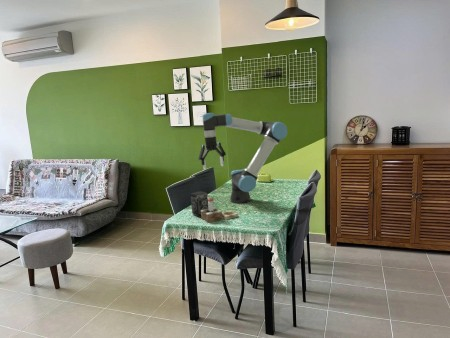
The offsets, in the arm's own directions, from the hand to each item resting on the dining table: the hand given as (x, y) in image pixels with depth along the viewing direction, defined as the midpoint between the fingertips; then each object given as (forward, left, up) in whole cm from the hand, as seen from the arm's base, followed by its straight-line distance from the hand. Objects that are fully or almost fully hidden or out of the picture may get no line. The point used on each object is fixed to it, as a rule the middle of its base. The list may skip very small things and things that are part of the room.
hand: (213, 167), depth 229 cm
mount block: (+1, +19, -29) cm, 35 cm away
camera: (+14, +5, -29) cm, 33 cm away
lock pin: (+12, +17, -29) cm, 36 cm away
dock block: (+12, +17, -29) cm, 36 cm away
